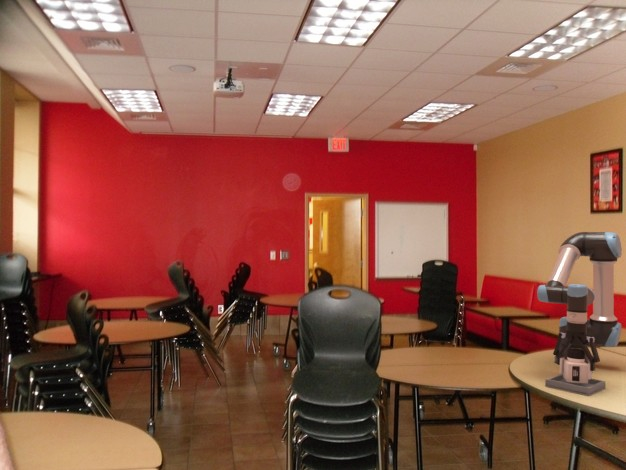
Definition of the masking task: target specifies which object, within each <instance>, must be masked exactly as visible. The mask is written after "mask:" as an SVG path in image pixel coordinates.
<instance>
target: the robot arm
mask: <svg viewBox="0 0 626 470" xmlns="http://www.w3.org/2000/svg"><path fill="white" fill-rule="evenodd" d="M622 254H623V253H622V243H621V238H620V236H619V235H618V233H615V232H611V231H610V232H609V231H581V232H577V233H574V234H573V235H570V236H568V237H567V238H566V239H565V240H564V241H563V242H562V243H561V244H560V246H559V248H558V257H557V259H556V261H555V264H554V266H553V269H552V270H551V273H550V275H549V278H548V280H547V282H546V284H540V285H539V286H538V287H537V291H536V293H537V294H536V296H537V299H538V301H539V302H543V303H548V304H564V305H566V316H563V317H561V318H560V319H559V325H558V336H557V337H558V339H557V341H556V344H555V347H554V350H553V353H552V354H553V356H554V363H556V364H557V365H558V366H559V374H563V365H564V359H567V350H568V349H570V348H578V349H582V350H583V351H584V353H585V361H584V362H585V363H587V364H588V374H587V379H589V380H590V379H593V372H595V370H596V365H595V364H596V363H600V361H601V359H600V356H599V352H598V348H597V346H598V347H599V346H600V347H605V348H607V347H608V348H615V347H617V346H618V344H619V342H620V338H621V334H622V323H620V322H618V317H616V316H615V315H614V314H615V313H614V309H615V308H614V305H615V304H614V303H615V302H614V301H615V300H614V297H615V296H614V292H615V289H614V287H615V286H614V284H615V282H614V281H615V278H614V277H615V276H614V275H615V274H614V269H615V268H614V267H615V264H616V263H617V262H618V259H619V258H621V257H622ZM580 257H588V258H589V263H591V264H592V288H593V289H592V288H590V287H588V285H586V284H583V283H582V284H579V283H570V284H568V285H567V283H568V280H569V278H570V276H571V274H572V271H573V269H574V266H575V263H576V261H578V260H579V259H580ZM591 304H592V314H591V315H590V316H589V319H588V306H590V305H591ZM588 345H589V347H590V349H589V347H588ZM590 350H591V351H590ZM567 360H568V359H567Z"/></svg>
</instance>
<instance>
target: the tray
mask: <svg viewBox="0 0 626 470" xmlns="http://www.w3.org/2000/svg"><path fill="white" fill-rule="evenodd" d="M544 385H545V387H547V388H549V389H550V388H551V389H553V390H554V389H555V390H559V391H563V390H564V391H565V392H569V393H573V394H577V395H583V396H587V397H590V396H591V395H595V394H596V393H598V392H602V391H603V390H605V389H606V381H605V380H600V379H596V378H592V379H590V380H589V379H588V383H573V382H567V381H566V380H565V379H564V378H563V374H560V373H559V374H557V375H554V376H552V377H548V378H545V384H544Z"/></svg>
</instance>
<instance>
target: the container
mask: <svg viewBox="0 0 626 470" xmlns="http://www.w3.org/2000/svg"><path fill="white" fill-rule="evenodd" d="M567 359H568V360H567ZM567 359H564V365H563V378H564V379H565V380H566V381H567V382H573V383H588V379H587V374H588V364H587V363H585V362H584V361H585V353H584V351H583V350H582V349H578V348H570V349H568V350H567Z"/></svg>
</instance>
